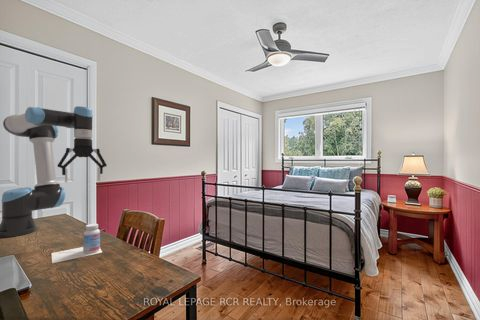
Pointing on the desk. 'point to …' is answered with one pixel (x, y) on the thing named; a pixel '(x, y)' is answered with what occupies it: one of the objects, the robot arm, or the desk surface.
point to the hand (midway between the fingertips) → (83, 181)
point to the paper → (71, 254)
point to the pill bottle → (91, 239)
